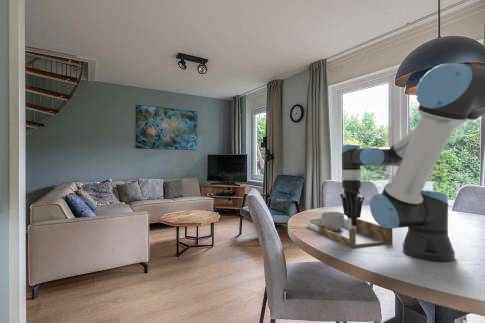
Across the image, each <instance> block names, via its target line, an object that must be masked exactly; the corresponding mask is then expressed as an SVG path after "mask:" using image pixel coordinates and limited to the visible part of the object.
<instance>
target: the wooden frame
mask: <svg viewBox="0 0 485 323" xmlns="http://www.w3.org/2000/svg"><path fill="white" fill-rule="evenodd" d="M356 224H357V225H356V232H355V230H354V229H349V228H348V237H345V236H343V235H341V234H338V233H336V232H335V231H329V230H327V229H325V225H324V224H320V226H319V227H320V232H319V234H322V235H324V236H326V237H329V238H330V239H333V240H335V241H336V242H338V243H341V244H343V245H345V246H347V247H349V248H351V249H357V248H363V247H372V246H380V245H381V246H382V245H390V244H392V245H393V242H394V241H393V228H384V227H382V226H380V225H379V224H378V223H374V222H372V221H371V222H370V221H367V220H364V219H360V218H357V219H356ZM357 232H358V233H360V234H362V235H365V236H369V237H371V238H374V239H377V240H379V241H371V242H362V243H356V241H357V240H356V233H357Z"/></svg>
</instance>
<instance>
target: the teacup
mask: <svg viewBox="0 0 485 323" xmlns="http://www.w3.org/2000/svg"><path fill="white" fill-rule="evenodd" d="M320 215H321V217H320V218H321V219H322V224H324V225H325V229H327V230H329V231H332V232H339V231H341V230H342V229H343V228H344V218H345V215H344V212H340V211H323V212H321V214H320Z"/></svg>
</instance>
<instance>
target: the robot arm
mask: <svg viewBox="0 0 485 323" xmlns="http://www.w3.org/2000/svg"><path fill="white" fill-rule="evenodd" d="M415 95H416V96H417V97H416V102H418V104H419V106H418V107H417V111H418V113H419V114H420V118H419V121H418V123H417V125H416V127H415V128H414V129H413V130H411V131H410V132H408V133H407V134H405V136H403V137H402V138H400V139H399V140H398V141H397V142H396V143H394V144H392V145H391V146H389V147H377V146H367V147H361V145H360V144H344V145H342V147H341V178H342V181H341V182H342V188H343V189H344V190H343V193H340V194H339V196H340V198H341V203H342V209H343V214H344V216H346V218H347V219H348V227H349V228H348V230H349V229H354V230H355V232H356V233H357V231H356V225H357V224H356V219H357V218H358V219H360V218H361V215H362V208H363V202H364V200H365V197H364V196H363V195H361V192H360V189H362V185H361V184H362V181H361V180H360V179H361V177H362V176H361V167H391V166H392V167H398V168H397V170H396V172H395V175H394V177H393V180H392V182H389V183H386V184H385V185H384V187H383V189H382V192H381V193H377V194H375V195H373V196H372V197H371V199H370V200H369V210H370V213H371V216H372V218H373V220H374V221H375V223H376V224H378V225H380V226H382V227H384V228H392V229H398V228H399V229H400V228H407V231H406V235H405V238H404V240H403V242H402V251H403V252H404V253H405V254H407V255H409V256H412V257H414V258H417V259H420V260H421V259H422V260H425V261H431V262H452V261H454V260H455V259H456V258H455V254H456V253H455V249H454V247H453V245H452V242H451V240H450V239H451V238H450V237H449V203H448V195H447V194H446V193H444V192H441V191H436V190H435V191H433V190H425V189H424V188H425V185H426V184H427V182H428V180H429V178H430V176H431V175H432V174H431V173H432V172H433V170H434V167H435V166H436V164H437V162H438V160H439V158H440V156H441V155H442V152H443V151H444V149H445V147H446V145H447V143H448V140H449V139H450V137H451V134H452V132H454V130H455V129H456V128H458V127H460V126H461V125H463V124H465V123H466V122H467V121H475V120H477V119H478V118H480V117H482V116H483V115H485V65H475V64H466V63H461V62H460V63H456V62H453V63H442V64H439V65H437V66H434V67H433V68H432V69H429V70H428V71H427V72H426V73H425V74H424V75H423V76H422V77H421V78H420V80H419V82H418V84H417V87H416V90H415Z"/></svg>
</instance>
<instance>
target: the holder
mask: <svg viewBox="0 0 485 323" xmlns="http://www.w3.org/2000/svg"><path fill="white" fill-rule="evenodd" d="M320 224H322V219H321V217H314V218H313V217H311V218H308V222H307V228H309V229H311V230H314V231H316V232H318V233H320ZM343 228H347V229H349V227H348V218H345V217H344V226H343Z"/></svg>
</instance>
